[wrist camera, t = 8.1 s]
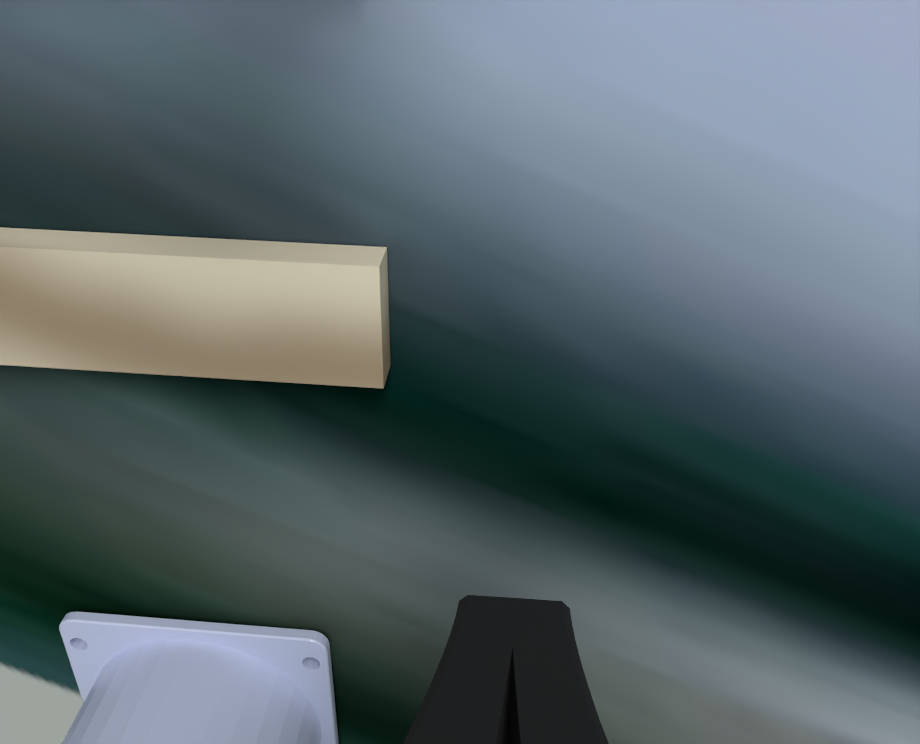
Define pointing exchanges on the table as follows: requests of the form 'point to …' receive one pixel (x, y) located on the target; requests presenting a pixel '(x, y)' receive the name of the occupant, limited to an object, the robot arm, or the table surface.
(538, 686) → the robot arm
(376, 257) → the birch track
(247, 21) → the table surface
